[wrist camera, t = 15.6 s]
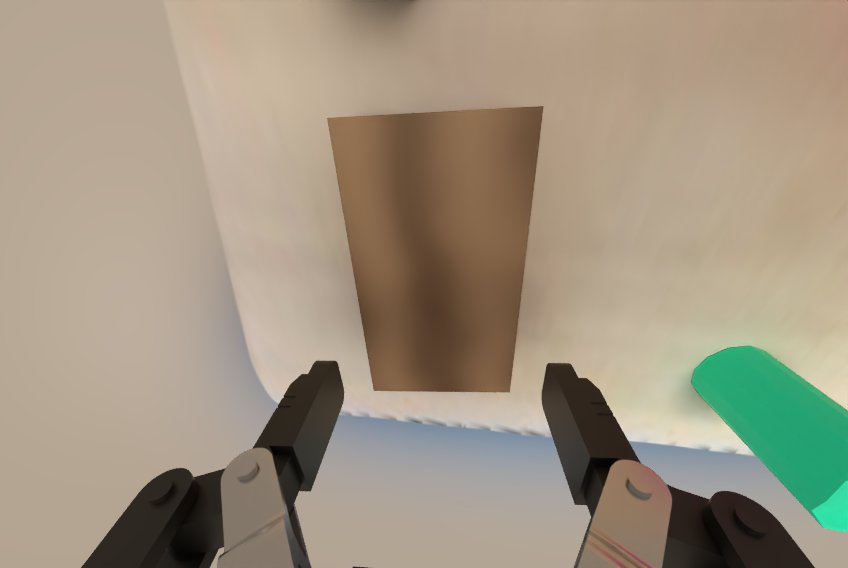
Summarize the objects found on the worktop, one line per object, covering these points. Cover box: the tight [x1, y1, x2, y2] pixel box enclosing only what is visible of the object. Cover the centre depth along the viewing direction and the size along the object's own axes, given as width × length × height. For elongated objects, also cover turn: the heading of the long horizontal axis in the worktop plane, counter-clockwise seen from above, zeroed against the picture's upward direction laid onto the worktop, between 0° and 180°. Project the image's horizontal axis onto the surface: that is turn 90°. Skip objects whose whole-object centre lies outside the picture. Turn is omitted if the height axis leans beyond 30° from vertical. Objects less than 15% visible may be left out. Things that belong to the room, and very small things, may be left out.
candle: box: [691, 346, 848, 531], centre depth 21 cm, size 6×6×12 cm
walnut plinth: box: [327, 106, 543, 392], centre depth 21 cm, size 10×18×5 cm, turn 3°
